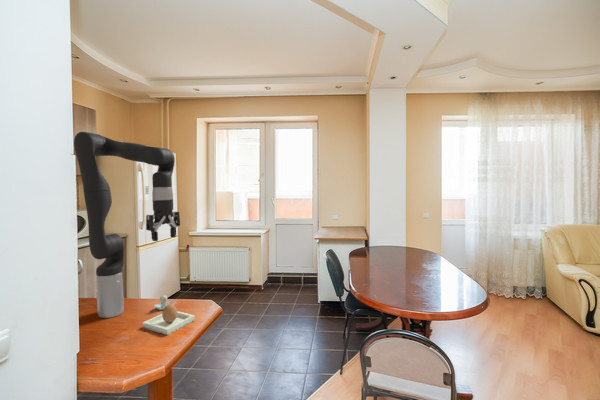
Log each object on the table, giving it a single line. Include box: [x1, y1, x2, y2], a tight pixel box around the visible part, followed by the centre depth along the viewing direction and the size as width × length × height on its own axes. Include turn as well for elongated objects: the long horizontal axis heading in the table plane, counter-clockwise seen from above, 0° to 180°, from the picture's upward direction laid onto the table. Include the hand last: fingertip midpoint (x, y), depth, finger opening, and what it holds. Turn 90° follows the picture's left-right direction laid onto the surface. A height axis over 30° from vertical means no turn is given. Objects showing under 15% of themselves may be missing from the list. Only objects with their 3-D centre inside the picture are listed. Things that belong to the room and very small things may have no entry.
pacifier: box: [153, 295, 174, 311], centre depth 137 cm, size 7×6×6 cm
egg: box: [161, 304, 178, 323], centre depth 122 cm, size 5×5×7 cm
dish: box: [142, 310, 196, 336], centre depth 122 cm, size 13×13×2 cm
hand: (164, 239), depth 126 cm, fingers open, 8 cm apart
